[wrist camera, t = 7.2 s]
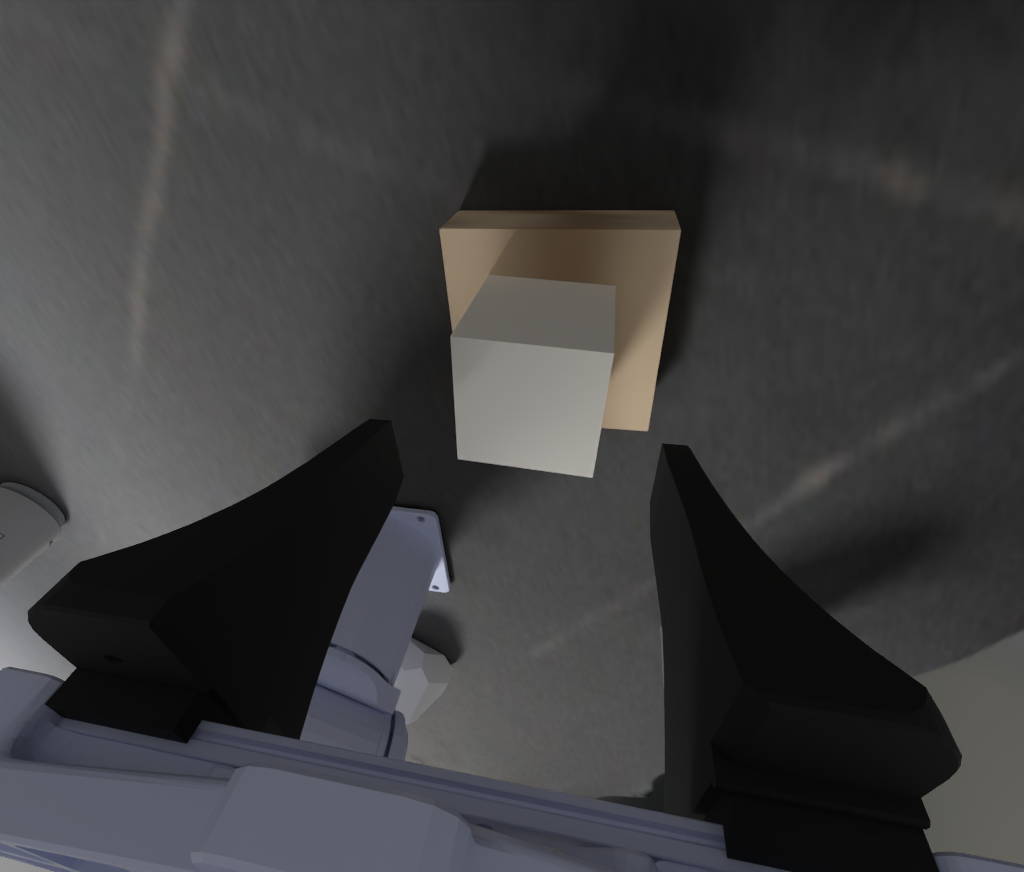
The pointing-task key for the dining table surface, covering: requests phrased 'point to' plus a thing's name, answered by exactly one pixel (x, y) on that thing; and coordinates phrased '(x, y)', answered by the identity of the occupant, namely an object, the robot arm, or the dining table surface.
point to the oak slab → (579, 279)
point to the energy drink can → (25, 527)
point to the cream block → (533, 373)
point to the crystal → (421, 679)
